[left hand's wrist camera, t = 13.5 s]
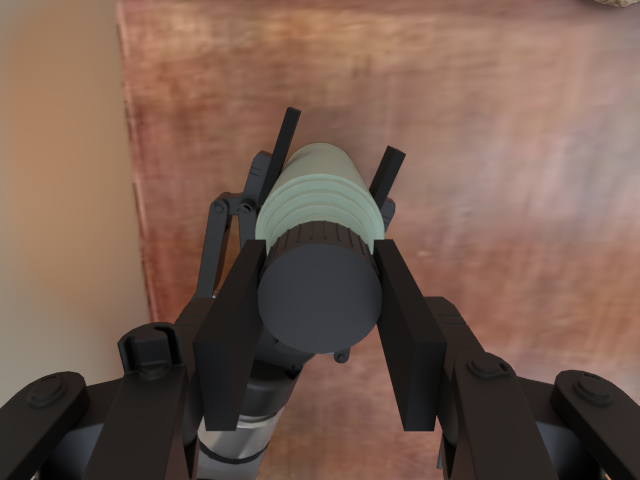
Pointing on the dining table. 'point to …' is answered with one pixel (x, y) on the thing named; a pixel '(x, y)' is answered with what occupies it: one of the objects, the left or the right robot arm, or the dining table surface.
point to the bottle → (319, 196)
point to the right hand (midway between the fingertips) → (346, 130)
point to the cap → (319, 288)
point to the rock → (617, 2)
